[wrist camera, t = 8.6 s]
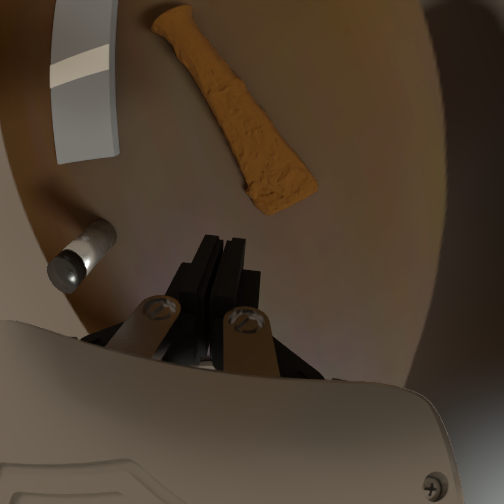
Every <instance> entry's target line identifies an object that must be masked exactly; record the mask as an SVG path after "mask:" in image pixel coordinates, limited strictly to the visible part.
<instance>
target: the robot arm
mask: <svg viewBox="0 0 504 504" xmlns="http://www.w3.org/2000/svg"><path fill="white" fill-rule="evenodd" d="M245 244H246V239H241V238H232V241H228V240H227V242H226V245H225V248H224V251H223V240H219V236H214V235H205V236H204V238H203V240H202V242H201V244H200V246H199V248H198V250H197V253H196V255H195V257H194V259H193V261H192V263H185V262H183V263H181V265H180V267H179V269H178V271H177V273H176V274H175V276H174V278H173V280H172V282H171V284H170V286H169V288H168V290H167V292H166V294H165V295H156V296H152V297H149V298H147V299H145V300H144V301H142V302H141V303H140V304H139V306H138V307H137V308H136V309H135V310H134V312H133V313H132V314H131V315H130V316H129V318H128V319H127V320H126V321H125V322H123V323H120V324H117V325H115V326H112V327H109V328H106V329H104V330H101V331H98V332H95V333H93V334H90V335H87V336H85V337H83V338H82V339H80V340H78V338H77V337H68V336H65V335H62V334H59V333H56V332H53V331H50V330H46V329H43V328H40V327H37V326H34V325H31V324H28V323H23V322H19V321H12V320H0V504H465V503H464V497H463V491H462V486H461V480H460V476H459V471H458V467H457V462H456V459H455V455H454V452H453V449H452V446H451V442H450V439H449V436H448V434H447V431H446V429H445V426H444V424H443V422H442V420H441V418H440V416H439V414H438V412H437V411H436V409H435V408H434V406H433V405H432V404H431V403H430V401H429V400H428V399H426V398H425V397H424V396H422V395H420V394H418V393H416V392H414V391H411V390H408V389H405V388H401V387H398V386H395V385H388V384H383V383H376V382H365V381H348V380H343V379H338V378H332V380H326V379H324V377H323V376H322V375H321V374H320V373H319V372H318V371H317V370H316V369H314V368H313V367H312V366H310V365H309V364H308V363H306V362H305V361H304V360H302V359H301V358H300V357H298V356H297V355H296V354H295V353H293V352H292V351H291V350H289V349H288V348H287V347H286V346H284V345H283V344H282V343H281V342H279V341H278V340H277V339H276V338H274V337H273V336H272V332H271V327H270V322H269V319H268V317H267V316H266V315H265V313H264V312H262V311H260V310H259V309H258V303H259V289H260V275H261V271H252V270H243V266H244V255H245ZM209 344H210V359H212V361H203V362H200V360H201V357H203V358H206V356H207V352H208V348H209Z"/></svg>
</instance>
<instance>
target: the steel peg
mask: <svg viewBox="0 0 504 504" xmlns="http://www.w3.org/2000/svg"><path fill="white" fill-rule="evenodd" d="M116 239H117V235H116V231H115V229H114V227H113V226H112V225H111V224H110V223H109V222H108V221H106V220H103V219H99V220H96V221H95V222H93V223H92V224H91V225H90V226H89V227H88V228H87V229H85V230H84V231H83V232H82V233H81V234H80V235H79V236H78V237H76V238H75V239H74V240H73V241H72V242H71V243H70V244H69V245H68V246H67V247H66V248H65V249H63V250H62V251H61V252H60V253H59V254H58V255H57V256H56V257H55V258H54V259H53V260H52V261H51V262H50V263H49V264H48V266H47V273H48V276H49V279H50V280H51V282H52V283H53V285H54V286H55V287H56V288H57V289H58V290H60V291H61V292H63V293H67V294H70V293H73V292H74V291H75V289H76V288H77V287H78V286H79V284H80V283H81V282H82V281H83V280H84V278H85V277H86V276H87V275H88V274H89V272H90V271H91V270H92V269H93V268H94V266H95V265H96V264H97V263H98V262H99V261H100V260H101V258H102V257H103V256H104V255H105V254H106V253H107V252H108V250H109V249H110V248H111V247H112V246H113V245H114V244H115V242H116Z"/></svg>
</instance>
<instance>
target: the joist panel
mask: <svg viewBox="0 0 504 504" xmlns="http://www.w3.org/2000/svg"><path fill="white" fill-rule="evenodd" d="M117 8H118V0H56V7H55V14H54V23H53V33H52V47H51V65H50V88H51V104H52V119H53V130H54V139H55V147H56V155H57V161H58V164H63V163H69V162H76V161H82V160H89V159H96V158H104V157H113V156H116V155H118V154H120V150H119V140H118V129H117V114H116V94H115V40H116V21H117Z"/></svg>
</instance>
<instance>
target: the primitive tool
mask: <svg viewBox="0 0 504 504" xmlns="http://www.w3.org/2000/svg"><path fill="white" fill-rule="evenodd" d="M192 11H193V8H192V6H191V5H180V6H176V7H173V8H171V9H168V10H167V11H165V12H164V13H162V14H160V15H159V16H158V17H157V18H156V19H155V20H154V22H153V24H152V26H151V32H153V33H155V34H158V35H160V36H163V37H164V38H165V39H166V40H167V41H168V42H169V43H170V44H172V46H173V48H174V51H175V53H176V57H177V58H178V59H179V61H180V62H181V63H182V64H183V65H184V66H185V67H186V68H187V69H188V71H189V72H190V73H191V75H192V76H193V78H194V80H195V82H196V83H197V85H198V86H199V88H200V90H201V92H202V94H203V96H204V98H205V100H206V101H207V103H208V105H209V107H210V108H211V110H212V112H213V114H214V116H215V118H216V120H217V123H218V125H219V126H220V127H221V128H222V130H223V134H224V136H225V138H226V140H227V141H228V142H229V146H230V149H231V150H232V152H233V154H234V155H235V157H236V160H237V163H238V165H239V167H240V170H241V172H242V173H243V175H244V178H245V181H246V182H247V186H248V187H247V189H246V191H245V192H246V193H247V194H248V195H249V196H250V197H251V198H252V200H253V203H254V205H255V206H256V208H258V209H259V210H260V211H261V212H262V213H263V214H266V215H273V214H275V213H276V212H278V211H280V210H284V209H286V208H288V207H290V206H291V205H293V204H295V203H297V202H299V201H301V200H302V199H304V198H306V197H308V196H310V195H311V194H313V193H314V192H316V191H317V190H318V184H317V182H316V180H315V178H314V177H313V176H312V174H311V173H310V171H309V170H308V168H307V167H306V165H305V164H304V163H303V161H302V160H301V159H300V157H299V156H298V155H297V154H296V153H295V151H294V150H293V149H292V148H291V147H290V146H289V144H288V143H287V142H286V141H285V140H284V138H283V137H282V136H281V135H280V133H279V132H278V130H277V129H276V128H275V126H274V125H273V123H272V121H271V120H270V119H269V117H268V115H267V113H266V111H265V110H263V109H262V108H261V107H260V106H259V105H258V103H257V102H256V100H255V99H254V98H253V97H252V95H251V94H250V93H249V92H248V90H247V88H246V87H245V83H244V82H243V81H242V80H241V78H240V77H238V76H237V75H236V74H235V73H233V72H232V71H231V69H230V67H229V66H228V65H227V64H226V62H225V60H224V59H223V58H222V57H221V56H220V55H219V54H218V53H217V51H216V50H215V48H214V47H212V45H211V44H210V43H209V41H208V39H207V38H206V37H205V36H204V35H203V34H202V32H201V30H200V29H199V27H198V26H197V24H196V22H195V21H194V20H193V18H192Z"/></svg>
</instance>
